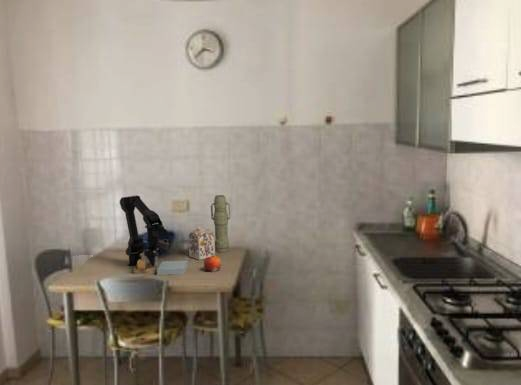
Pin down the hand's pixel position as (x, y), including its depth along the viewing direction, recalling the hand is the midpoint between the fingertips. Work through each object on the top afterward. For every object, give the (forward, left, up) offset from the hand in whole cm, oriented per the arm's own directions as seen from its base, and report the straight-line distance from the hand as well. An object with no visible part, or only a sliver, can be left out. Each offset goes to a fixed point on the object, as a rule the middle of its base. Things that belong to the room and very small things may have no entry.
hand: (154, 264), depth 269 cm
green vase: (+34, +40, -4) cm, 53 cm away
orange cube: (-7, 0, -2) cm, 7 cm away
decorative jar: (+23, +27, -4) cm, 36 cm away
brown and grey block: (-4, 0, -4) cm, 6 cm away
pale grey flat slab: (+10, 0, -4) cm, 11 cm away
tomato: (+32, -2, -4) cm, 32 cm away
